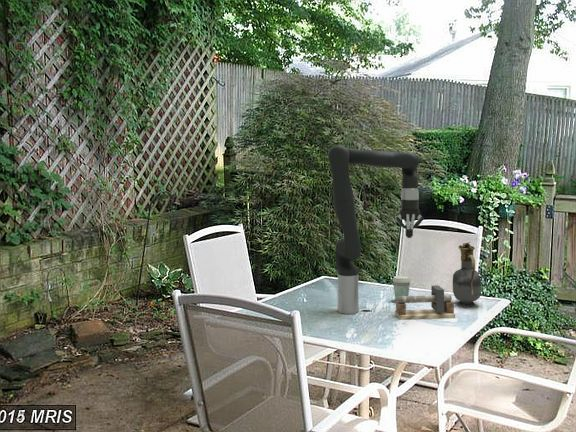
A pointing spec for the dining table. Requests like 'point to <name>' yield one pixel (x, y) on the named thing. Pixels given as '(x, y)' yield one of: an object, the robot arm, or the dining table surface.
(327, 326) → the dining table surface
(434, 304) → the collar
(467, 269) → the dark grey bottle
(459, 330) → the dining table surface
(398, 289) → the coffee cup
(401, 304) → the pipe rig
